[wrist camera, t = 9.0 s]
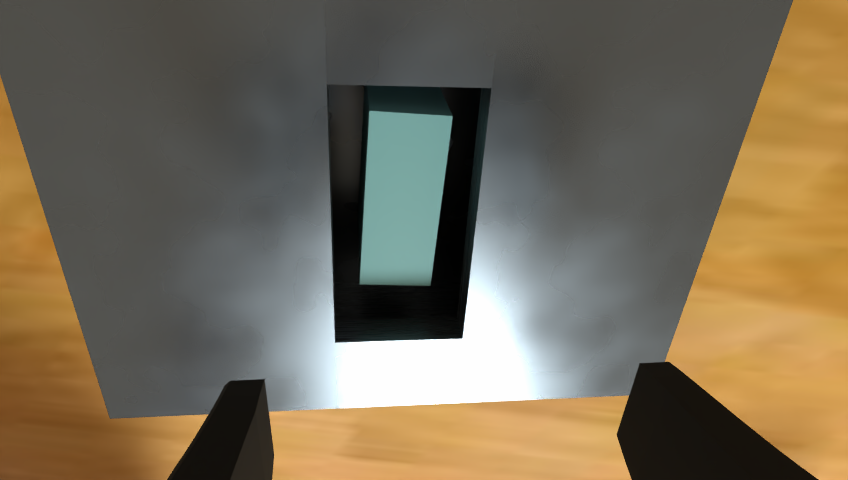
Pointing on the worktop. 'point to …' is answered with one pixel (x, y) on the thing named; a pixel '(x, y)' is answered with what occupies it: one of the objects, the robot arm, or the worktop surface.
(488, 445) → the worktop surface
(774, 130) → the worktop surface
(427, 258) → the teal rectangular brick
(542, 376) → the coin box
